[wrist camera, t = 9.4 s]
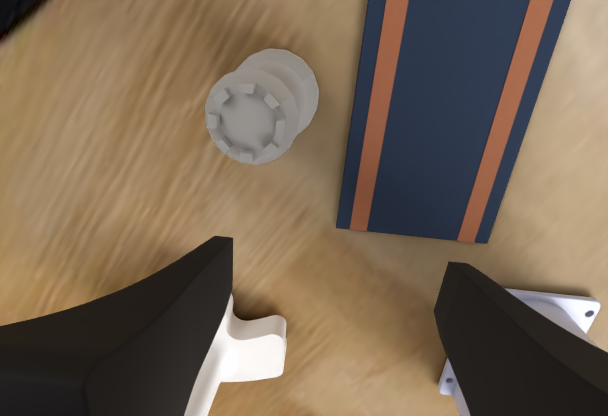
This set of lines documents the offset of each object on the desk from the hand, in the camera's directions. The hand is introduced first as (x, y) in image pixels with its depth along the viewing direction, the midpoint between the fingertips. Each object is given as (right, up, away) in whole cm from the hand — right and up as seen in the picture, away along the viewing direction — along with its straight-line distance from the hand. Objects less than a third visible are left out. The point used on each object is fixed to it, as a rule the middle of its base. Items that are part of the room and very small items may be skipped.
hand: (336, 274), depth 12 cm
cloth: (+6, +7, +7) cm, 12 cm away
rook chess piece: (-2, +8, +7) cm, 11 cm away
